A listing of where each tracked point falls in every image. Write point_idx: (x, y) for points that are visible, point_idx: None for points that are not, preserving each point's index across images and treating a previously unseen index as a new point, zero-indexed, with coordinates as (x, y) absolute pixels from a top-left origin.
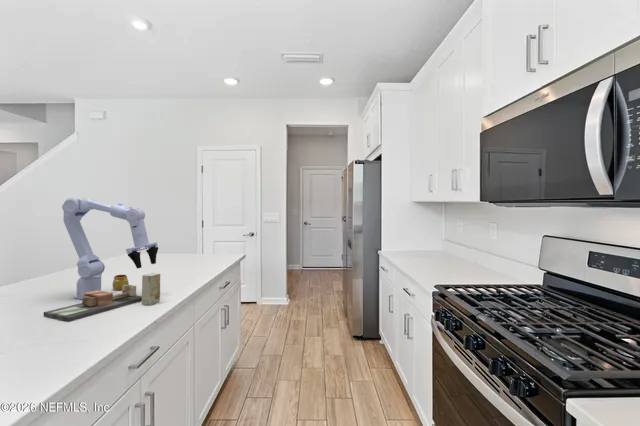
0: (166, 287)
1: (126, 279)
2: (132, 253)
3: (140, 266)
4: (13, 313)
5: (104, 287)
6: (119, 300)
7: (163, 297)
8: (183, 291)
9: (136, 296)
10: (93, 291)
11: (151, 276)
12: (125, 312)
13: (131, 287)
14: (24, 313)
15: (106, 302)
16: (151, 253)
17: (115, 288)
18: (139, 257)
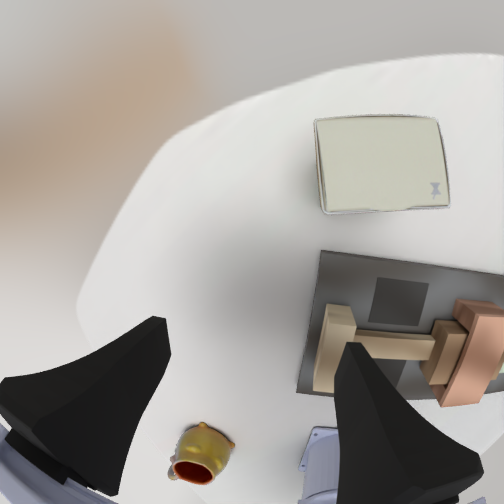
0: (115, 312)
1: (188, 450)
2: (453, 496)
3: (362, 349)
4: (482, 447)
5: (217, 476)
6: (412, 310)
7: (245, 202)
8: (131, 197)
9: (330, 296)
10: (459, 398)
11: (432, 118)
12: (479, 190)
13: (355, 329)
14: (486, 434)
15: (477, 303)
16: (109, 423)
17: (230, 448)
18: (397, 424)
